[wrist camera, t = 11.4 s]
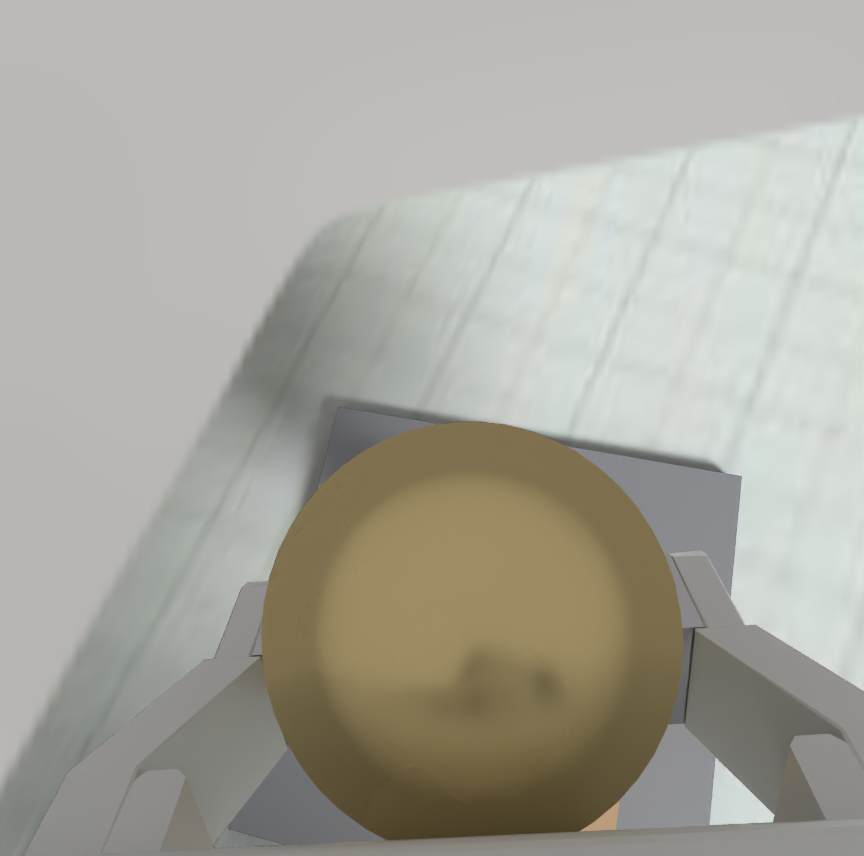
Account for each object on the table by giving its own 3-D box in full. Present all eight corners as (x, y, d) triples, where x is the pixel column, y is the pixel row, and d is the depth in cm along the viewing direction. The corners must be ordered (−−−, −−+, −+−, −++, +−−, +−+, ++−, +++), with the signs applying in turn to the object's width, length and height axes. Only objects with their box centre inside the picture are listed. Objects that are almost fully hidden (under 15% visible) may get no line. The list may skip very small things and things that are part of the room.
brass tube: (580, 569, 16) (705, 461, 7) (552, 749, 15) (653, 917, 6) (416, 534, 17) (322, 391, 7) (377, 706, 16) (207, 794, 6)
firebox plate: (733, 482, 27) (775, 452, 23) (688, 950, 23) (729, 1021, 18) (344, 414, 30) (315, 375, 25) (238, 821, 25) (182, 858, 21)
